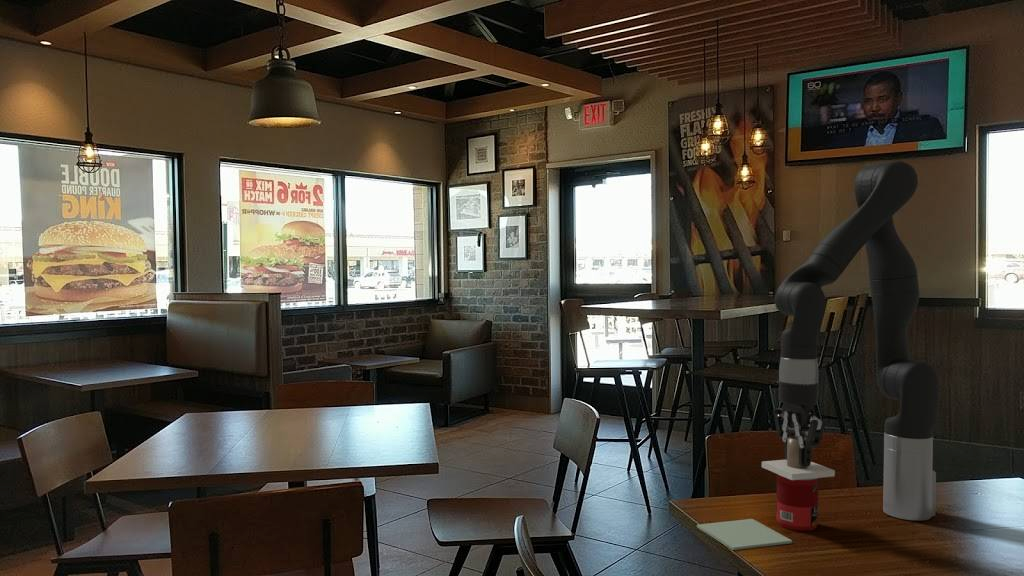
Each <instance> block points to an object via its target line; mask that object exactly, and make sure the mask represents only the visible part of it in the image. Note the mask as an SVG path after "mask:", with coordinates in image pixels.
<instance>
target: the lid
mask: <svg viewBox="0 0 1024 576" xmlns="http://www.w3.org/2000/svg"><path fill="white" fill-rule="evenodd" d="M806 438H807V437H804V440H805V441H806ZM799 448H801V447H800V445H799V438H798V436H796V437H788V438H787V460H785V459H779V460H778V459H776V460H765V461H761V468H762V469H765V470H768V471H770V472H772V473H774V474H776V475H777V474H779V475H781V476H783V477H786V478H788V479H790V480H801V479H812V478H818V479H821V478H822V479H823V478H831V477H832V478H833V477H835V475H836V471H835V470H834V469H832V468H829V467H827V466H824V465H822V464H818V463H816V462H813V461H811V464H810V466H804V467H803V466H800V465H799Z"/></svg>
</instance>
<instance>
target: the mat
mask: <svg viewBox="0 0 1024 576" xmlns="http://www.w3.org/2000/svg"><path fill="white" fill-rule="evenodd" d="M696 528H697V529H699V530H701V531H702V532H703V533H705V534H707V536H710V537H711V538H713V539H715V540H716V541H718V542H719V543H721V544H723V545H724V546H725V547H727V548H729V549H730V550H732V551H738V550H745V549H753V548H761V547H762V548H763V547H770V546H771V547H772V546H779V545H787V544H793V540H792V539H790V538H789V537H786V536H785V535H783V534H782V533H780V532H777V531H776V530H774V529H771V528H770V527H768V526H766V525H765V524H762V522H759V521H758V520H756V519H753V518H748V519H747V518H746V519H737V520H729V521H718V522H711V523H710V522H709V523H702V524H701V523H700V524H696Z"/></svg>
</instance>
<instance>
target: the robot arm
mask: <svg viewBox="0 0 1024 576" xmlns="http://www.w3.org/2000/svg"><path fill="white" fill-rule="evenodd" d="M918 180H919V179H918V174H917V172H916V170H915V168H914V167H913V166H912V165H911V164H910V163H908V162H906V161H901V160H894V161H887V162H885V161H884V162H880V163H874V164H869V165H867V166H864V167H863V168H861V169H860V170H859V171H858V172H857V174H856V177H855V180H854V196H855V202H856V206H857V210H856V211H854V213H852V215H849V217H847V218H846V219H845V220H844V221H843V222H841V223H839V224H838V225H837V226H836V227H835V228H834V229H832V230H831V231H830V232H829V233H828V234H827V235H825V237H824V238H823V239H822V240H821V241H820V243H819V244H818V245H817V246H816V247H815V249H814V250H813V252H811V255H809V257H808V259H807V260H806V261H805V262H804V263H803V264H801V265H800V266H798V268H796V269H795V270H794V271H793V272H792V273H791V274H789V275H788V276H787V277H786V278H785V279H784V280H783V281H782V283H780V285H779V286H778V288H777V289H776V292H775V294H774V305H775V307H776V309H777V310H778V311H779V313H782V314H783V315H785V316H791V317H792V321H791V322H792V323H791V325H790V328H786V329H784V330H783V331H782V332H781V336H780V360H779V367H778V400H779V402H780V403H783V404H782V406H781V407H780V408H778V407H777V408H773V409H772V414H773V417H774V418H773V419H774V425H775V429H776V435H777V437H778V438H781V439H782V442H784V450H783V451H784V454H783V455H784V460H787V438H788V437H798V438H799V445H800V447H801V448H799V465H800V466H803V467H804V466H810V464H811V462H812V448H816V447H819V446H820V445H821V440H822V436H823V433H824V430H825V426H826V421H825V419H822V418H821V419H819V418H818V417H817V416H816V413H815V407H814V406H815V405H817V403H818V402H819V365H818V339H819V335H820V332H821V328H822V324H823V321H824V318H825V314H826V307H827V303H826V302H827V301H826V296H825V293H824V291H823V289H822V287H824V286H828V285H832V284H834V283H835V282H836V281H837V280H838V279H839V278H840V277H841V276H842V274H843V273H844V271H845V270H846V268H847V267H848V266H849V265H850V263H851V262H852V261H853V259H854V258H855V257H856V255H857V254H858V252H860V250H861V249H862V248H863V247H865V251H866V259H867V268H868V281H869V287H870V297H871V302H872V307H873V308H872V309H873V318H874V320H873V321H874V331H875V371H876V372H875V373H876V375H875V376H876V383H877V386H878V388H879V391H880V392H881V393H882V394H883V395H884V397H886V398H889V399H890V400H895V401H899V402H900V404H899V405H900V407H899V412H898V414H897V415H895V416H891V417H887V418H886V419H885V420H884V427H883V429H884V433H883V434H884V435H883V486H882V488H883V494H882V496H883V498H882V501H883V502H882V503H883V504H882V510H883V513H885V514H886V515H888V516H891V517H893V518H897V519H901V520H907V521H927V520H930V519H931V518H932V517H935V516H936V498H937V497H936V496H937V495H936V494H937V493H936V491H937V490H936V489H937V484H936V483H937V473H936V471H935V470H933V455H934V453H933V450H934V449H933V448H934V447H933V446H934V445H933V442H934V440H933V439H934V429H935V426H936V425H937V422H938V417H939V416H938V414H939V406H940V405H939V403H940V393H941V392H940V391H941V389H940V388H941V387H940V377H939V374H938V371H937V369H936V368H935V367H934V366H933V365H932V364H931V363H930V362H926V361H923V360H922V361H921V360H917V359H911V358H910V357H909V351H908V341H907V339H908V337H907V335H908V329H909V326H910V325H911V323H912V319H913V317H914V315H915V312H916V310H917V308H918V305H919V301H920V286H919V277H918V270H917V265H916V263H915V260H914V258H913V257H912V254H910V252H909V250H908V248H907V247H906V246H905V244H904V243H903V241H902V240H901V238H900V236H899V235H898V232H897V230H896V227H895V225H894V224H895V223H894V218H893V217H894V215H895V214H896V213H897V212H898V211H899V210H901V209H902V208H903V207H904V206H905V205H906V204H907V203H908V202H909V201H910V200H911V199H912V198H913V196H914V195H915V193H916V191H917V189H918V183H919V181H918ZM804 438H806V441H805V440H804Z"/></svg>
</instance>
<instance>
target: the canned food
mask: <svg viewBox="0 0 1024 576" xmlns="http://www.w3.org/2000/svg"><path fill="white" fill-rule="evenodd" d="M775 503H776V514H775V515H776V516H775V517H776V518H775V519H776V522H777V524H778V525H779V526H780V527H782V528H785V529H786V530H787V529H788V530H793V531H800V532H803V531H804V532H805V531H806V532H807V531H813V530H815V529H816V528H817V527H818V523H819V522H818V521H819V519H818V518H819V517H818V514H819V478H812V479H801V480H790V479H788V478H786V477H783V476H781V475H779V474H776V501H775Z"/></svg>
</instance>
